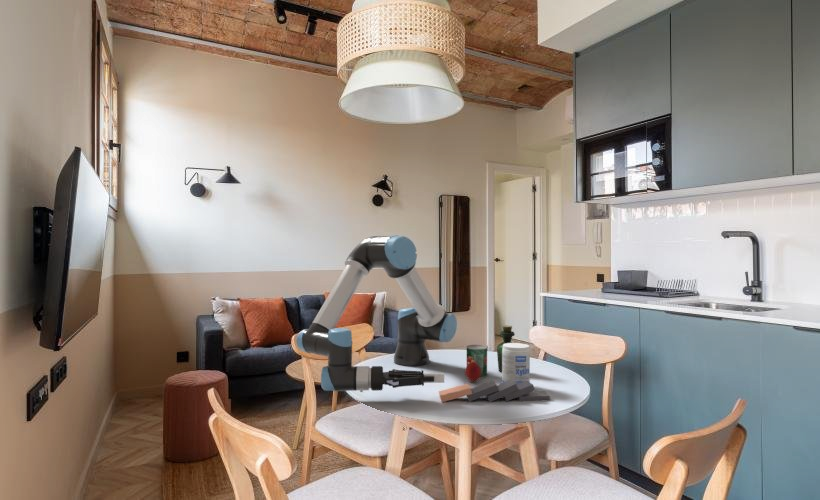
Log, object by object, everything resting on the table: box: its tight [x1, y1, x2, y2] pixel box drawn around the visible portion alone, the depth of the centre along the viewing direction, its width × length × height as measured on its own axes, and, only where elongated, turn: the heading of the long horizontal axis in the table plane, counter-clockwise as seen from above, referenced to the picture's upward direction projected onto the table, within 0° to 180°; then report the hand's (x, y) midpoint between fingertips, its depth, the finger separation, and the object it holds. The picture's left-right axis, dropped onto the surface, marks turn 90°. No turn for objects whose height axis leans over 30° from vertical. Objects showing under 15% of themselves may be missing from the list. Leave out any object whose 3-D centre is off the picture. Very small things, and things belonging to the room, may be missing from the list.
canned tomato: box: [466, 344, 488, 379], centre depth 179 cm, size 8×8×11 cm
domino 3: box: [501, 381, 535, 402], centre depth 151 cm, size 2×5×10 cm
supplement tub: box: [501, 342, 531, 384], centre depth 164 cm, size 10×10×15 cm
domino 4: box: [516, 390, 551, 402], centre depth 152 cm, size 2×5×10 cm
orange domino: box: [438, 382, 472, 403], centre depth 150 cm, size 2×5×10 cm
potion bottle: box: [496, 325, 515, 374], centre depth 184 cm, size 8×8×18 cm
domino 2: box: [484, 379, 518, 403], centre depth 150 cm, size 2×5×10 cm
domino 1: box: [466, 380, 499, 402], centre depth 150 cm, size 2×5×10 cm
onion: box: [464, 360, 481, 383], centre depth 170 cm, size 6×6×8 cm
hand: (444, 377), depth 150 cm, fingers closed
